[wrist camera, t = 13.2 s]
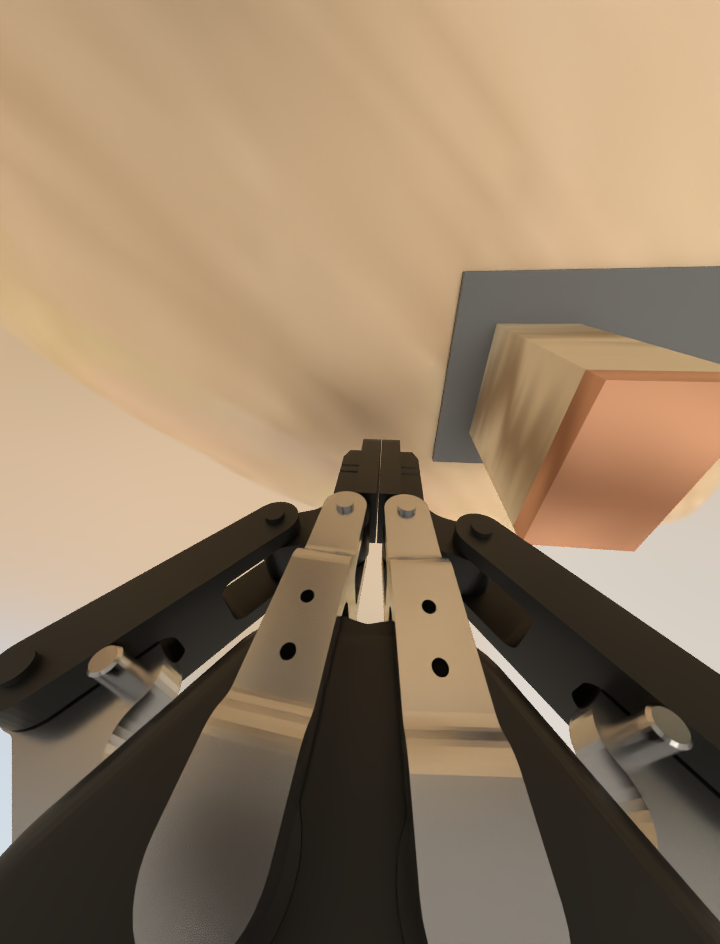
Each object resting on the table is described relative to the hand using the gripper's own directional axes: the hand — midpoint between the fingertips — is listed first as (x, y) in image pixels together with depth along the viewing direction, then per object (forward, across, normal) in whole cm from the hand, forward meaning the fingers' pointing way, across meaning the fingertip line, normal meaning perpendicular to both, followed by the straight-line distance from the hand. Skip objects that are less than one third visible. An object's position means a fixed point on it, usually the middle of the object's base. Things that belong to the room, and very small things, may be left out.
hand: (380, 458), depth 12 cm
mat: (+9, -13, 0) cm, 16 cm away
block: (+8, -8, -1) cm, 12 cm away
